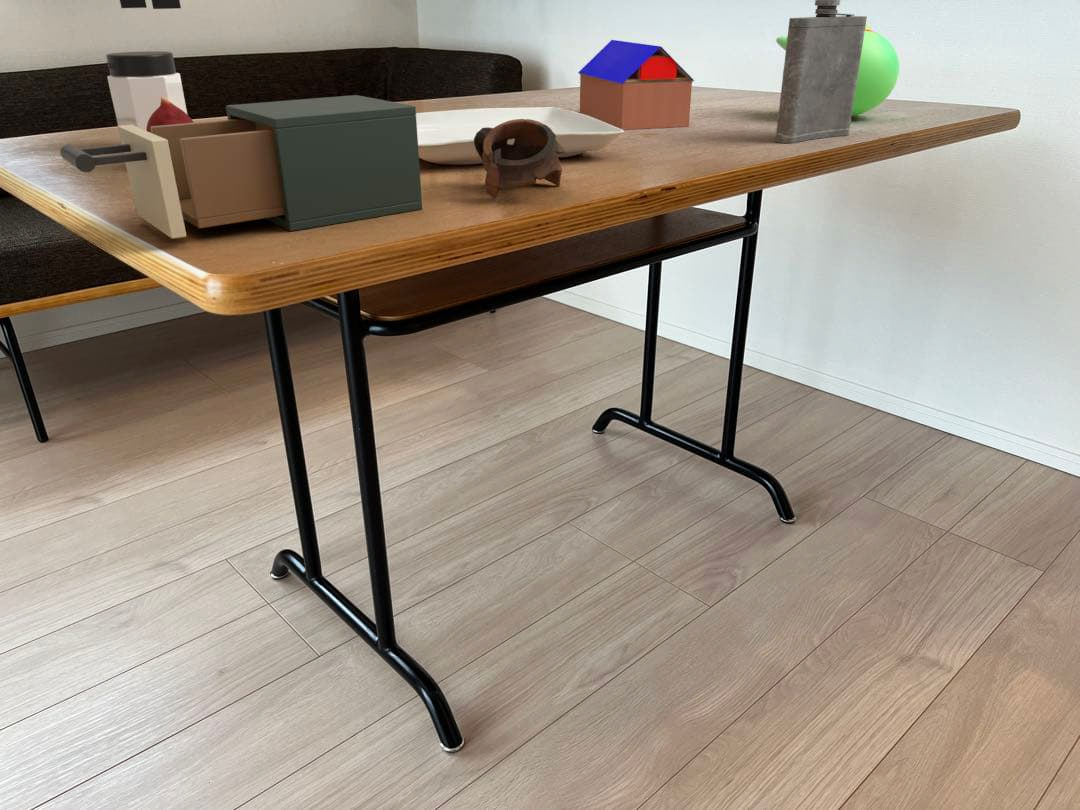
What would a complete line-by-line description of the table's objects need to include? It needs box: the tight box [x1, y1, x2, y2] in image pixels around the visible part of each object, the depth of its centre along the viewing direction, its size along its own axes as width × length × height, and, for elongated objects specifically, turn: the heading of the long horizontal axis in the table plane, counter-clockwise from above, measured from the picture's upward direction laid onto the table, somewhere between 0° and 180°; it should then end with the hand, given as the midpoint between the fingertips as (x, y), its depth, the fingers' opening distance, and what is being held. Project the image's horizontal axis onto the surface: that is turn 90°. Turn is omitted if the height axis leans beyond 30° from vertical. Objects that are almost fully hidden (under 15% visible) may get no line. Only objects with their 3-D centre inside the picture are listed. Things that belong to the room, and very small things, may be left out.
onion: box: [146, 97, 195, 133], centre depth 101 cm, size 6×6×8 cm
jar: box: [106, 51, 188, 131], centre depth 112 cm, size 9×8×12 cm
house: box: [577, 39, 695, 131], centre depth 135 cm, size 12×20×12 cm, turn 17°
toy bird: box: [775, 24, 900, 117], centre depth 136 cm, size 18×17×15 cm
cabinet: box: [225, 94, 423, 232], centre depth 80 cm, size 14×12×10 cm
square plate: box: [416, 106, 625, 166], centre depth 111 cm, size 27×27×4 cm
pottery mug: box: [474, 119, 565, 200], centre depth 88 cm, size 12×10×8 cm
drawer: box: [59, 118, 285, 240], centre depth 73 cm, size 18×11×8 cm, turn 128°
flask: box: [774, 0, 868, 144], centre depth 116 cm, size 4×14×18 cm, turn 124°
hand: (149, 8), depth 95 cm, fingers open, 13 cm apart
